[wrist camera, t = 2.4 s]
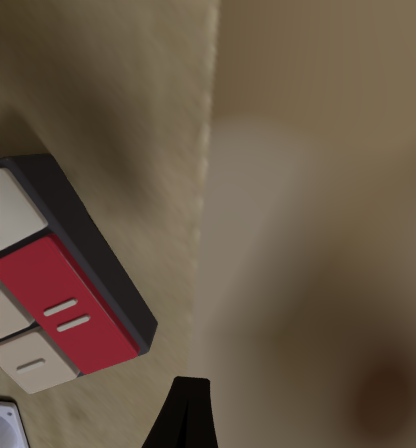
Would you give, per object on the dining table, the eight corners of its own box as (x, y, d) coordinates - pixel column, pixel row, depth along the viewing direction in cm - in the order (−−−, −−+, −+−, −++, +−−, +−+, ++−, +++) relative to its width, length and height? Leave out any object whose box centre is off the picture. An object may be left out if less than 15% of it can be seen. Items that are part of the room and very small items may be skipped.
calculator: (25, 404, 18) (-146, 240, 13) (61, 355, 22) (-62, 217, 17) (148, 362, 16) (-7, 154, 11) (162, 317, 20) (52, 150, 15)
